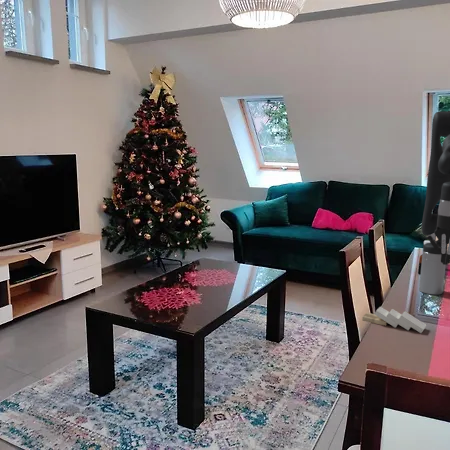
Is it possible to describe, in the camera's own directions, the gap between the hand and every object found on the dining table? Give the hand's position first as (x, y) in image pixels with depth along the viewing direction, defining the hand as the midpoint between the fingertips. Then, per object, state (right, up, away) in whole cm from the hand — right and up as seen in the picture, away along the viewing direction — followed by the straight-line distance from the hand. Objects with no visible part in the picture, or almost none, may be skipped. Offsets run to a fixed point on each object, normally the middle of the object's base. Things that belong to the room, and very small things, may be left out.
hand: (444, 264), depth 153 cm
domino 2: (-15, -20, +1) cm, 25 cm away
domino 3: (-12, -21, -1) cm, 24 cm away
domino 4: (-9, -21, -3) cm, 23 cm away
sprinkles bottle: (+30, -8, +81) cm, 87 cm away
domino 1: (-18, -20, +2) cm, 27 cm away
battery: (+23, -11, +68) cm, 72 cm away
